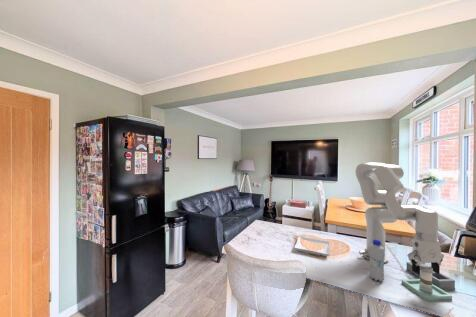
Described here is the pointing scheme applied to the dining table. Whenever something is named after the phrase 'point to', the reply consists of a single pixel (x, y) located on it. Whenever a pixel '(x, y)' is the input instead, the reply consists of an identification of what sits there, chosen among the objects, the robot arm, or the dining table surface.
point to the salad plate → (320, 252)
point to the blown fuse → (426, 278)
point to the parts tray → (435, 296)
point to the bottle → (376, 261)
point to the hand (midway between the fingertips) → (425, 272)
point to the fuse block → (437, 279)
